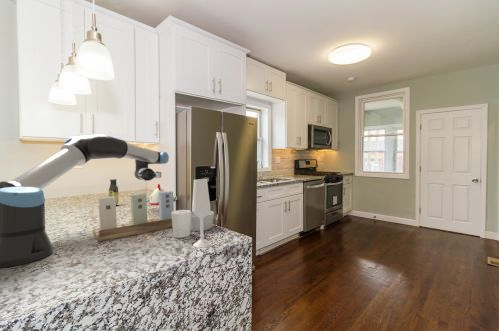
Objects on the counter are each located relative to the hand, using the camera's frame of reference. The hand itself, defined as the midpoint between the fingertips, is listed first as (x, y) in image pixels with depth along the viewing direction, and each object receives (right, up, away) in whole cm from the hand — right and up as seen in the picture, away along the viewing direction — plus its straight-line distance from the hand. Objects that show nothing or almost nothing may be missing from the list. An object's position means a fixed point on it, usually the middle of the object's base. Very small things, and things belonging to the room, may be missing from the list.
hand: (159, 175), depth 129 cm
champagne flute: (+31, -24, -40) cm, 56 cm away
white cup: (+20, -24, -29) cm, 43 cm away
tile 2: (-4, -22, -15) cm, 27 cm away
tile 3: (+6, -22, -7) cm, 24 cm away
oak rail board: (-2, -24, -17) cm, 29 cm away
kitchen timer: (-19, -24, +52) cm, 60 cm away
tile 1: (-14, -23, -23) cm, 35 cm away
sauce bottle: (-51, -25, +46) cm, 73 cm away
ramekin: (+26, -24, -18) cm, 40 cm away
